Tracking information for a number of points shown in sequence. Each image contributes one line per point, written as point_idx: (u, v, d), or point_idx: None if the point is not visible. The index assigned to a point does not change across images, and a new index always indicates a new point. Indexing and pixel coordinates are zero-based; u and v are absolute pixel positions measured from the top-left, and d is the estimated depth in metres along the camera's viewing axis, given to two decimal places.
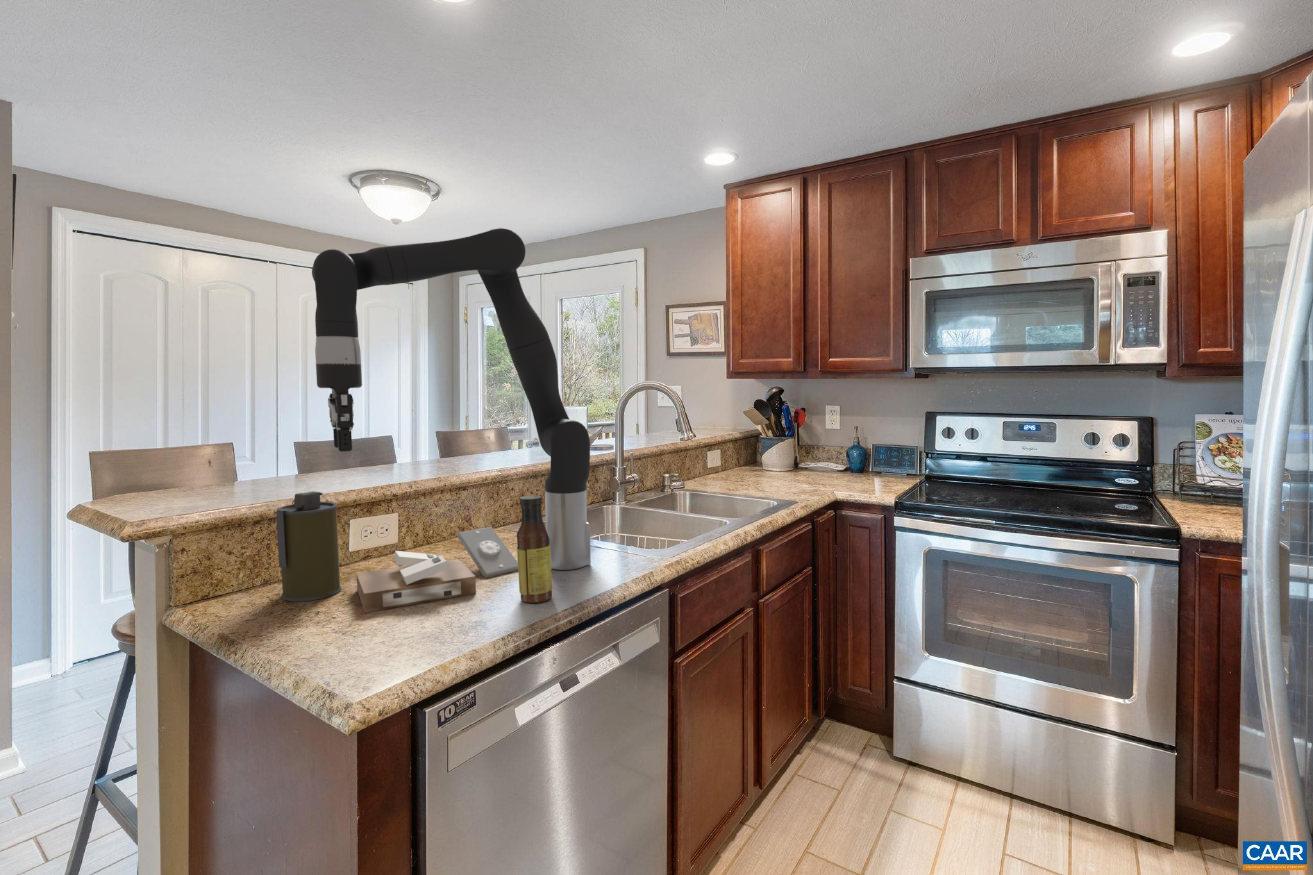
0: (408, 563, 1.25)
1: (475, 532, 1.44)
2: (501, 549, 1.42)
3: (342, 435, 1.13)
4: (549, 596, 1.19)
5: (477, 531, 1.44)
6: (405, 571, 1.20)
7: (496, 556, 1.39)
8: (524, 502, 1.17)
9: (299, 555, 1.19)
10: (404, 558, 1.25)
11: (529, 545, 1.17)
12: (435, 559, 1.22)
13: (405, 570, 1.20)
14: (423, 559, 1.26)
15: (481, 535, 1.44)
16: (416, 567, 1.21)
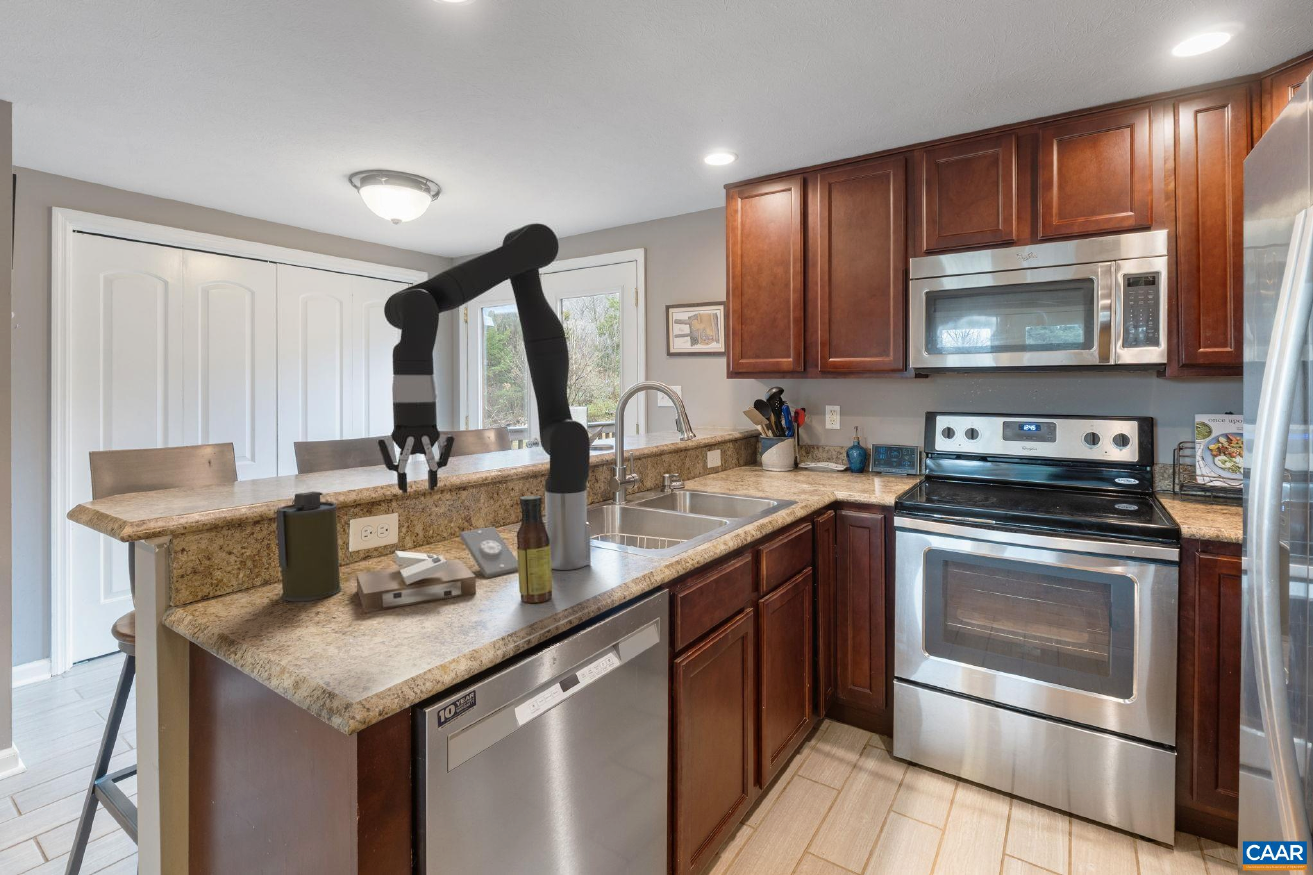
0: (408, 563, 1.25)
1: (477, 532, 1.44)
2: (503, 549, 1.42)
3: (436, 474, 1.19)
4: (549, 596, 1.19)
5: (479, 531, 1.44)
6: (405, 571, 1.20)
7: (497, 556, 1.39)
8: (523, 502, 1.17)
9: (299, 555, 1.19)
10: (404, 558, 1.25)
11: (529, 545, 1.17)
12: (435, 559, 1.22)
13: (405, 570, 1.20)
14: (423, 559, 1.26)
15: (483, 534, 1.44)
16: (416, 567, 1.21)
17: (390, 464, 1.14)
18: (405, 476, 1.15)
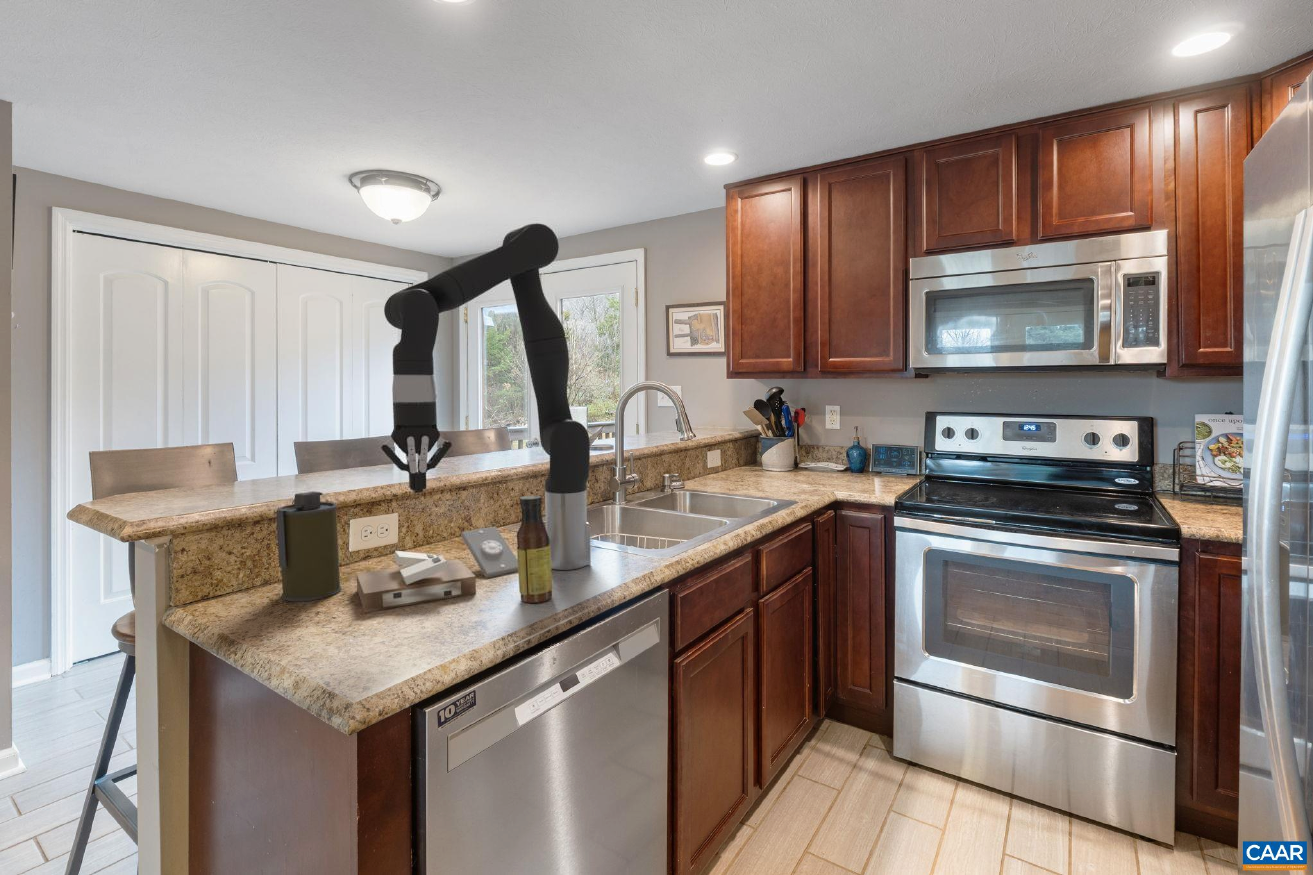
0: (408, 563, 1.25)
1: (479, 532, 1.44)
2: (504, 549, 1.42)
3: (425, 476, 1.18)
4: (549, 596, 1.19)
5: (481, 531, 1.44)
6: (405, 571, 1.20)
7: (498, 556, 1.39)
8: (523, 502, 1.17)
9: (299, 555, 1.19)
10: (404, 558, 1.25)
11: (529, 545, 1.17)
12: (435, 559, 1.22)
13: (405, 570, 1.20)
14: (423, 559, 1.26)
15: (485, 534, 1.44)
16: (416, 567, 1.21)
17: (402, 464, 1.15)
18: (417, 476, 1.16)
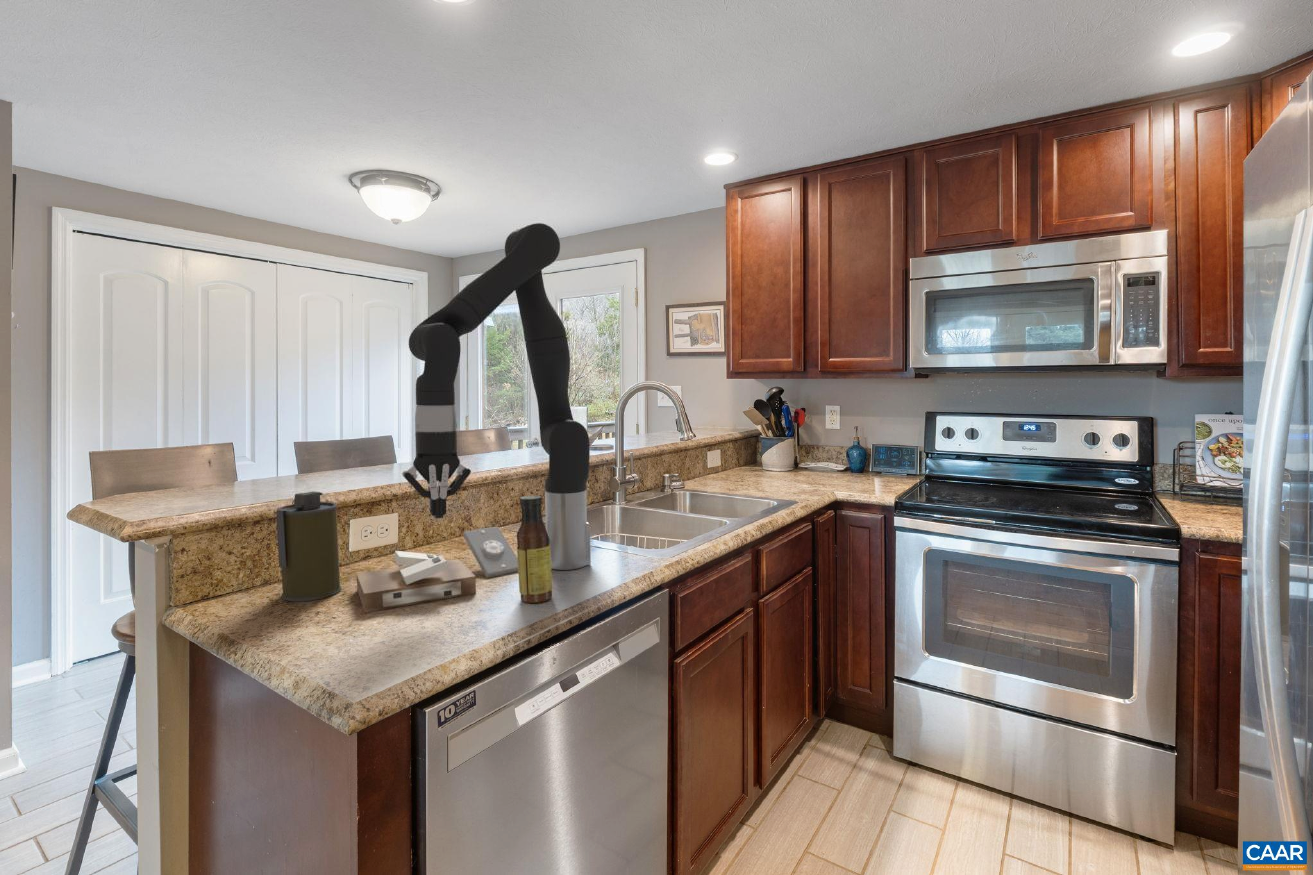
0: (408, 563, 1.25)
1: (481, 531, 1.44)
2: (505, 549, 1.42)
3: (445, 502, 1.22)
4: (549, 596, 1.19)
5: (483, 530, 1.45)
6: (405, 571, 1.20)
7: (499, 556, 1.39)
8: (524, 502, 1.17)
9: (299, 555, 1.19)
10: (404, 558, 1.25)
11: (529, 545, 1.17)
12: (435, 559, 1.22)
13: (405, 570, 1.20)
14: (423, 559, 1.26)
15: (486, 534, 1.44)
16: (416, 567, 1.21)
17: (423, 491, 1.19)
18: (437, 502, 1.21)
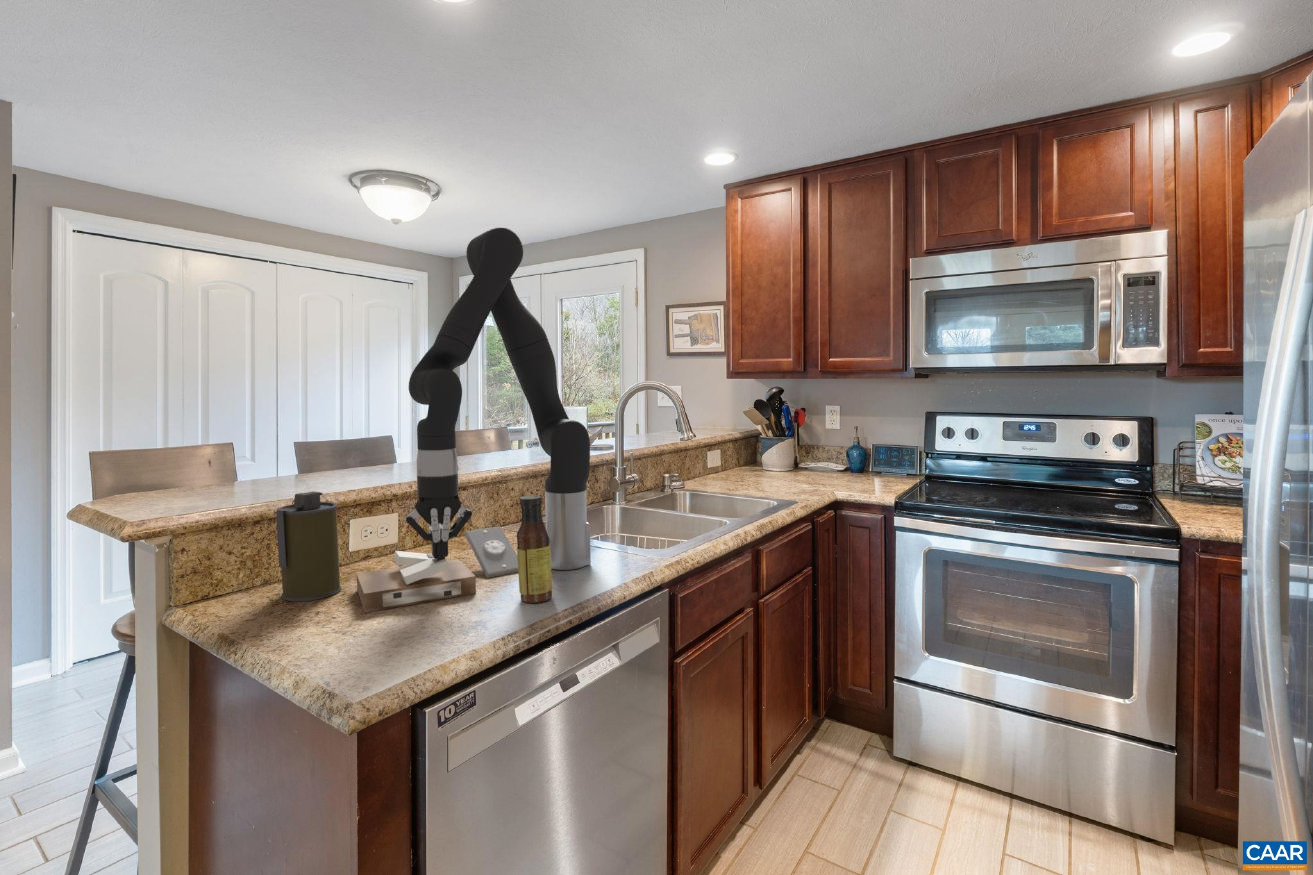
0: (408, 563, 1.25)
1: (483, 531, 1.44)
2: (507, 549, 1.42)
3: None
4: (549, 596, 1.19)
5: (485, 530, 1.45)
6: (405, 571, 1.20)
7: (500, 556, 1.39)
8: (523, 502, 1.17)
9: (299, 555, 1.19)
10: (404, 558, 1.25)
11: (529, 545, 1.17)
12: (435, 559, 1.22)
13: (405, 570, 1.20)
14: (423, 559, 1.26)
15: (488, 534, 1.44)
16: (416, 567, 1.21)
17: (425, 534, 1.20)
18: (439, 545, 1.21)
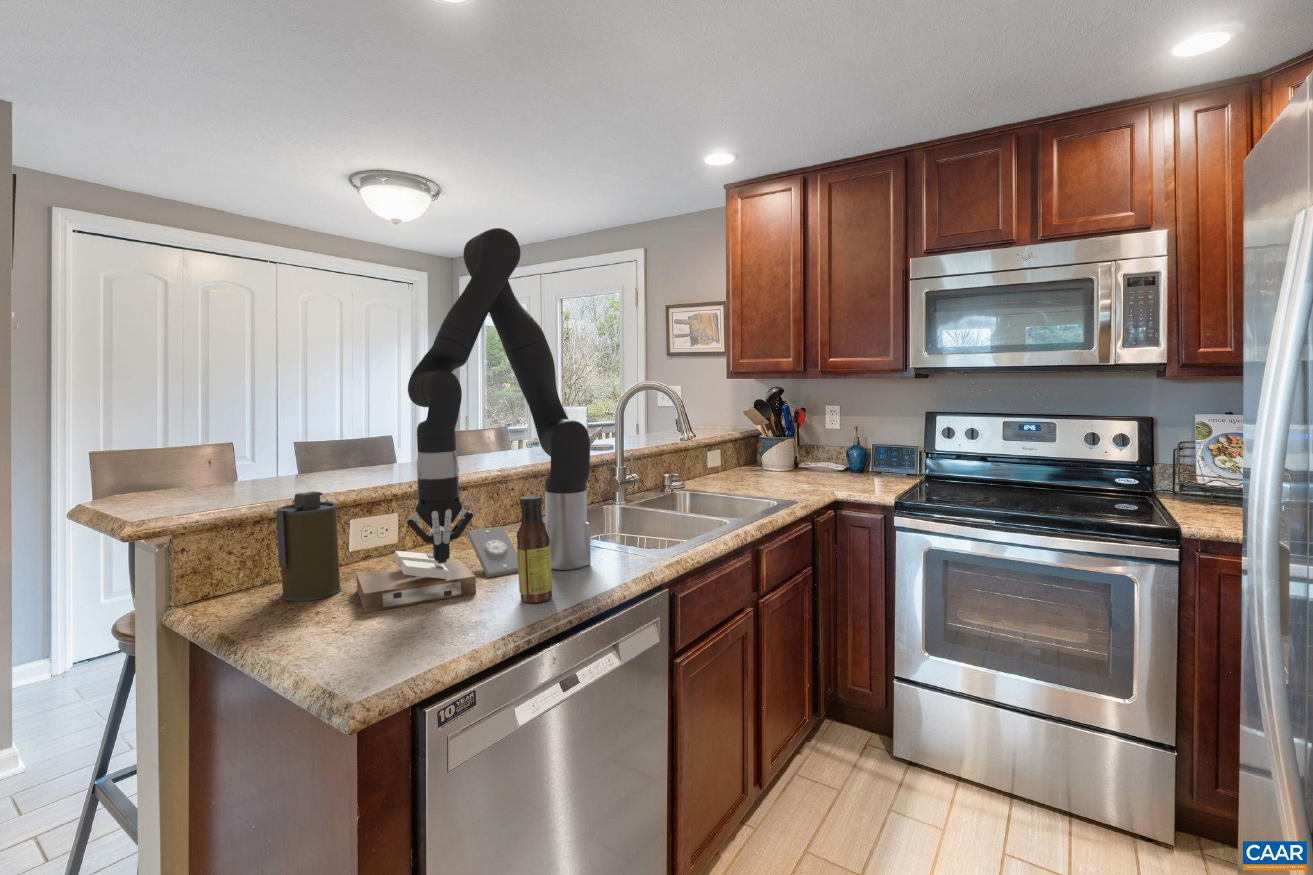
0: None
1: (485, 531, 1.44)
2: (508, 549, 1.42)
3: (448, 546, 1.23)
4: (549, 596, 1.19)
5: (487, 530, 1.45)
6: (407, 562, 1.20)
7: (502, 556, 1.39)
8: (524, 502, 1.17)
9: (299, 555, 1.19)
10: (404, 558, 1.25)
11: (529, 545, 1.17)
12: (438, 565, 1.23)
13: (407, 562, 1.20)
14: (423, 559, 1.26)
15: (490, 534, 1.44)
16: (418, 564, 1.21)
17: (427, 537, 1.20)
18: (440, 547, 1.21)
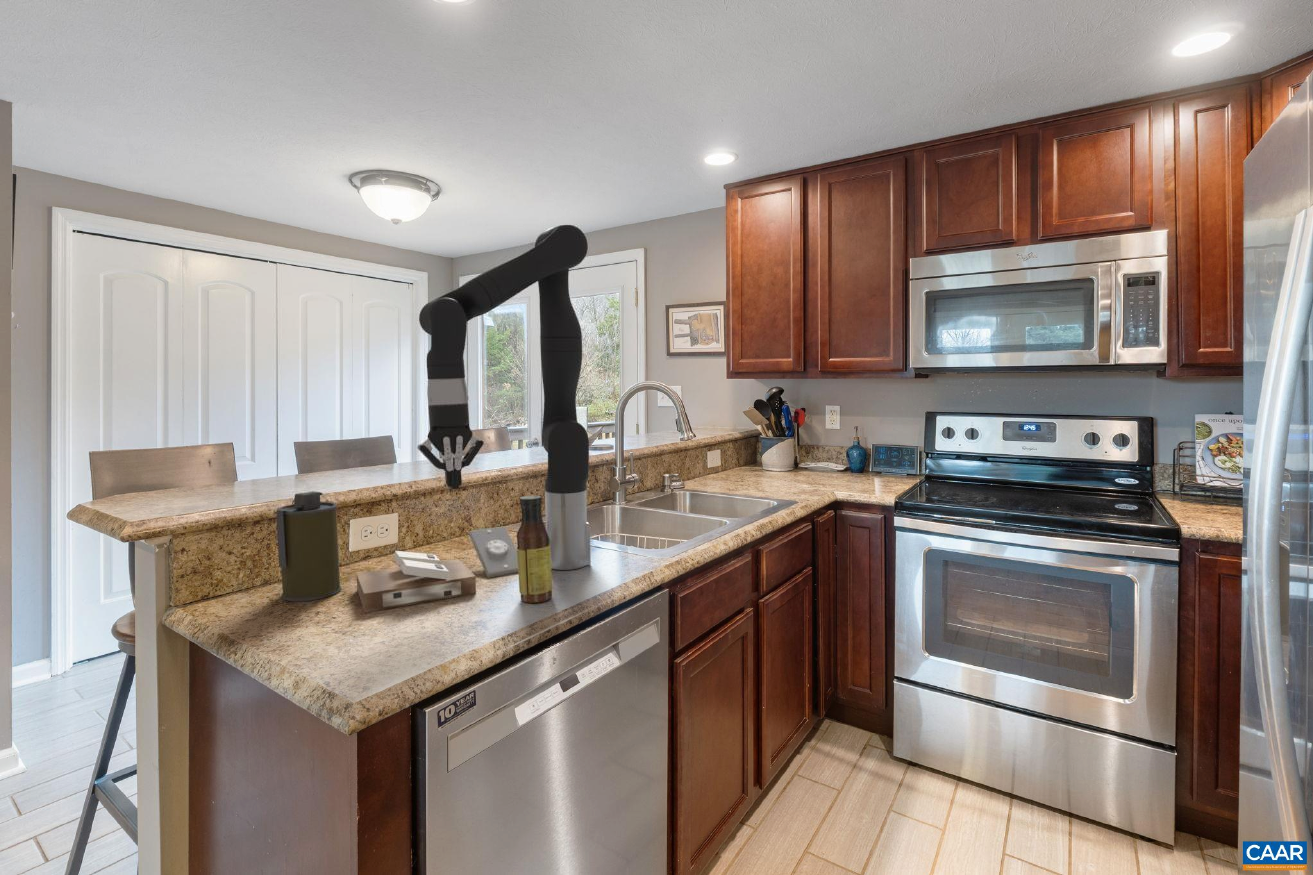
0: None
1: (487, 531, 1.45)
2: (509, 549, 1.41)
3: (460, 473, 1.25)
4: (549, 596, 1.19)
5: (489, 530, 1.45)
6: (408, 562, 1.20)
7: (502, 556, 1.39)
8: (523, 502, 1.17)
9: (299, 555, 1.19)
10: (404, 558, 1.25)
11: (529, 545, 1.17)
12: (438, 565, 1.23)
13: (407, 561, 1.20)
14: (423, 559, 1.26)
15: (492, 534, 1.44)
16: (418, 563, 1.21)
17: (439, 463, 1.22)
18: (453, 474, 1.24)
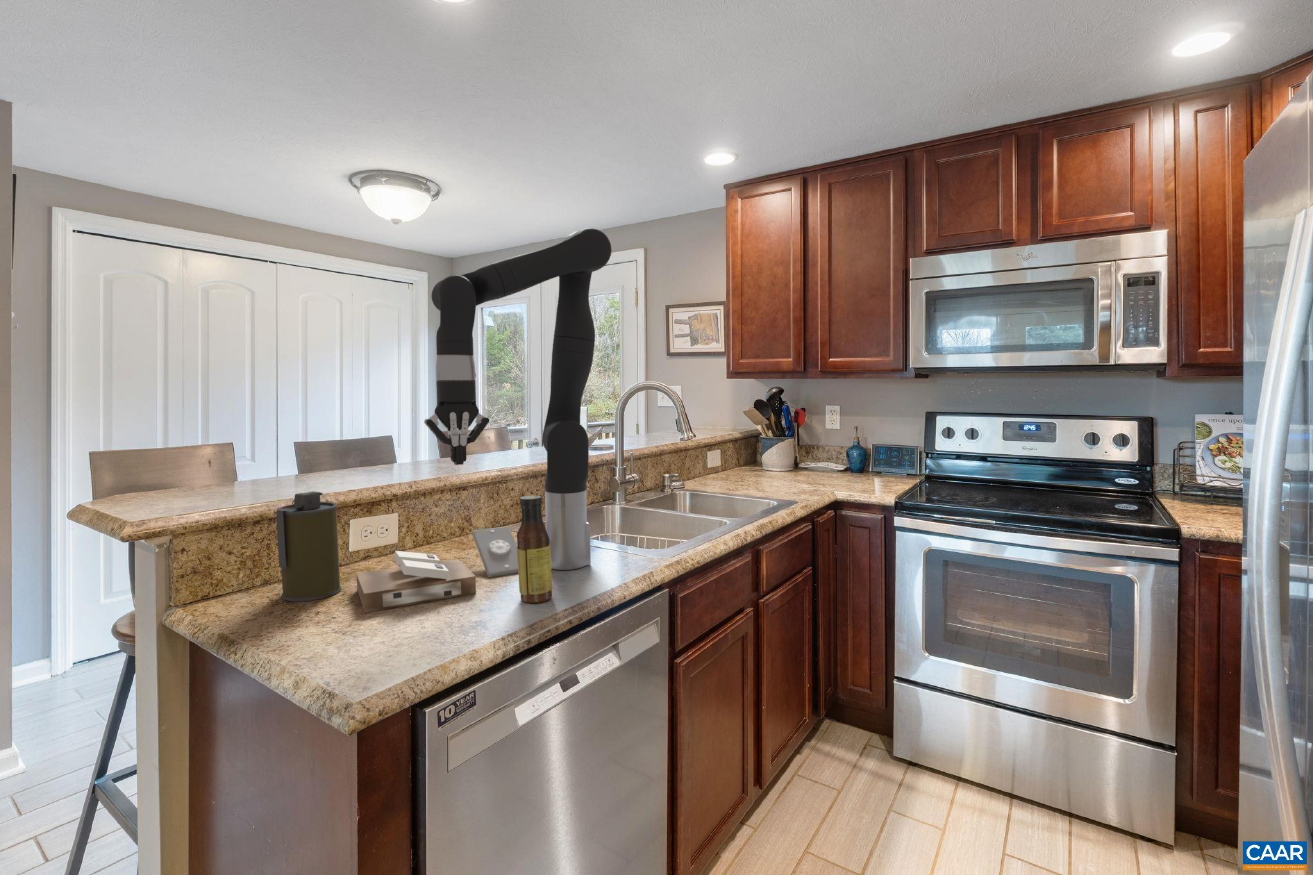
0: None
1: (490, 531, 1.45)
2: (512, 549, 1.41)
3: (465, 449, 1.27)
4: (549, 596, 1.19)
5: (492, 530, 1.45)
6: (407, 562, 1.20)
7: (504, 556, 1.39)
8: (524, 502, 1.17)
9: (299, 555, 1.19)
10: (404, 558, 1.25)
11: (529, 545, 1.17)
12: (438, 565, 1.23)
13: (407, 562, 1.20)
14: (423, 559, 1.26)
15: (495, 534, 1.44)
16: (418, 564, 1.21)
17: (445, 438, 1.24)
18: (458, 449, 1.26)
